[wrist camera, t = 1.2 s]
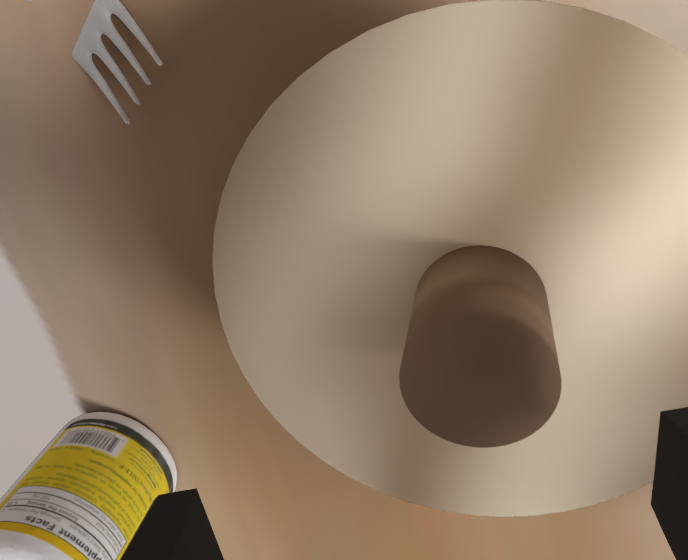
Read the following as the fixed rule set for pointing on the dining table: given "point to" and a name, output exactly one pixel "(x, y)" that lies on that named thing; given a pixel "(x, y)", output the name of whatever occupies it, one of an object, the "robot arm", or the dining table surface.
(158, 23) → the dining table surface
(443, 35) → the lid
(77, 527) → the supplement bottle
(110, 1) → the fork
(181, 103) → the dining table surface
